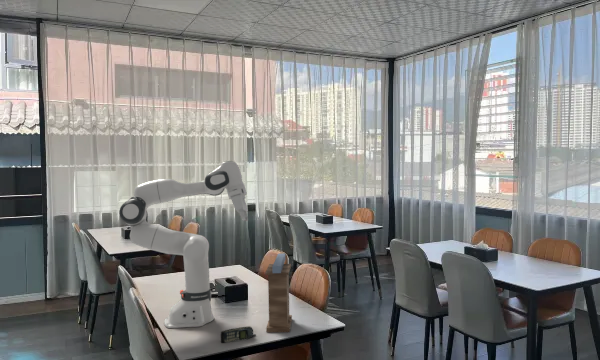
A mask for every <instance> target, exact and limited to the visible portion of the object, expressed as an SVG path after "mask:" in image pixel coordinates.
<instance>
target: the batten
mask: <svg viewBox="0 0 600 360" xmlns="http://www.w3.org/2000/svg"><path fill="white" fill-rule="evenodd" d="M272 264H273V266H272V270H273V273H281V271H282V268H283V265H284V264H286V253H277V255H276V257H275V259H274V262H273V263H272Z"/></svg>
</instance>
